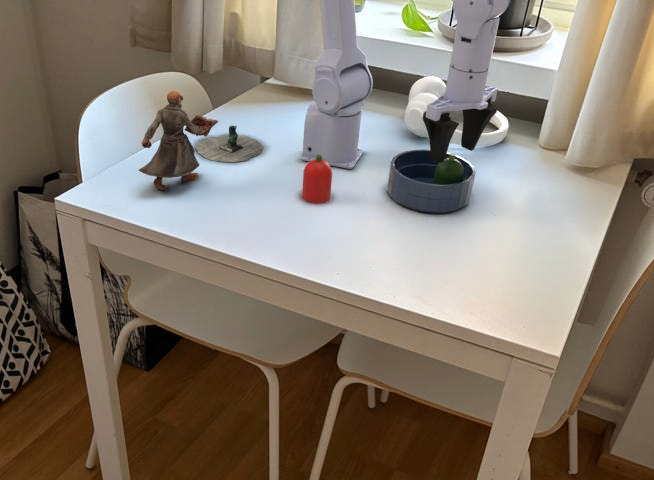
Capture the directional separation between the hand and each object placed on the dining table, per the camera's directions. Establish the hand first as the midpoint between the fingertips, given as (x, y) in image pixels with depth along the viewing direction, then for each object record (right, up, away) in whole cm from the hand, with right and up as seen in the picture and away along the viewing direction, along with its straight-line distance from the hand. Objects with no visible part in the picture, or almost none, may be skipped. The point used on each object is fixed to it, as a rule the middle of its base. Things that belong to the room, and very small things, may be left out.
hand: (452, 154), depth 118 cm
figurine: (-44, -4, +4) cm, 44 cm away
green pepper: (0, -6, +4) cm, 7 cm away
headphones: (+7, +12, +28) cm, 31 cm away
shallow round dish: (-3, -5, +5) cm, 8 cm away
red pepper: (-22, -6, +3) cm, 23 cm away
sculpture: (-37, +5, +17) cm, 41 cm away
